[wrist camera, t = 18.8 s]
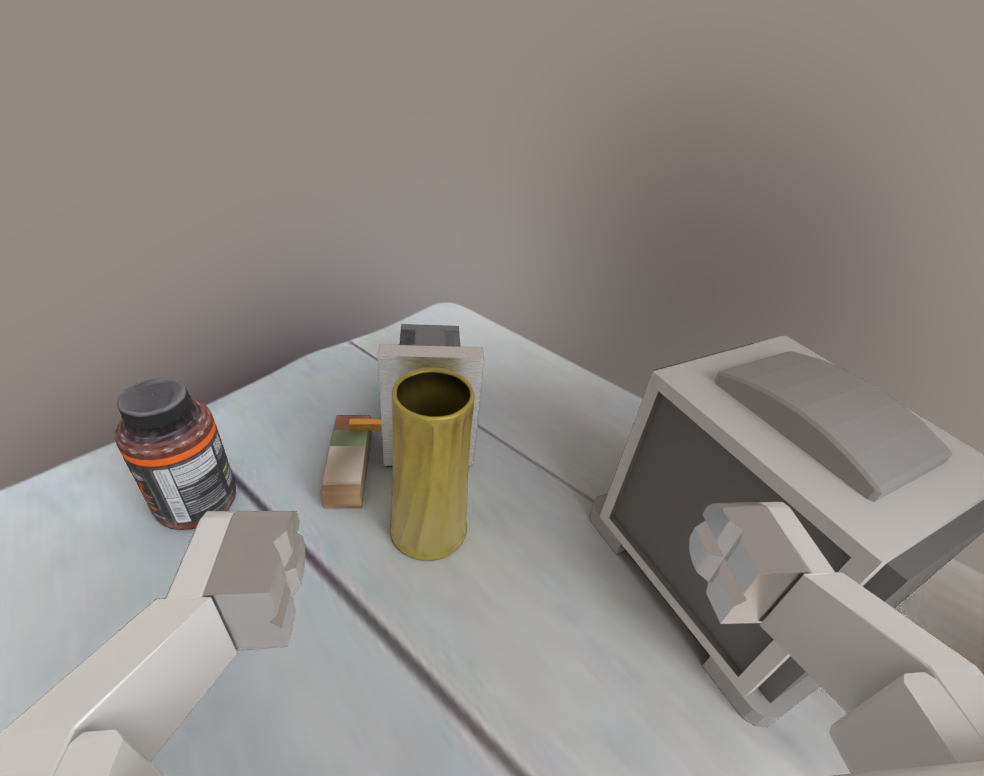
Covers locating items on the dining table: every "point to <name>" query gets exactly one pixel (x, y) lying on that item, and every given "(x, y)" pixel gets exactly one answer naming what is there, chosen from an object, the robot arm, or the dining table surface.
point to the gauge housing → (429, 335)
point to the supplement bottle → (174, 452)
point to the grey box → (785, 492)
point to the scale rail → (346, 465)
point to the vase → (430, 461)
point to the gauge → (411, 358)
